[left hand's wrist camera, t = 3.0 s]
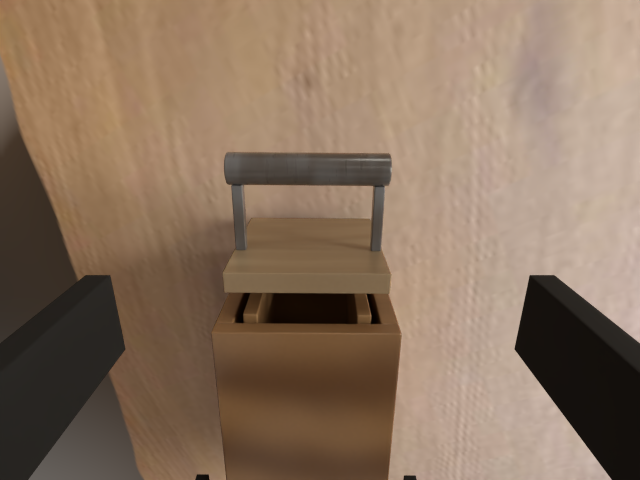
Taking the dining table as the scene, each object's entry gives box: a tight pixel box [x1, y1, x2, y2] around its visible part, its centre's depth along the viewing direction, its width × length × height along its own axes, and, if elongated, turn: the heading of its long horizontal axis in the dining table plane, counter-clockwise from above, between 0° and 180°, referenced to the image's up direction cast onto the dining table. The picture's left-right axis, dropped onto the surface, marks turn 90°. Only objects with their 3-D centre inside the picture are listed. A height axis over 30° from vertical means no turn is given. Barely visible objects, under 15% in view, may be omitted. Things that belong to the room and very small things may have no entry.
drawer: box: [222, 152, 392, 324], centre depth 27 cm, size 23×9×10 cm, turn 0°
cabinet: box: [211, 293, 402, 480], centre depth 30 cm, size 18×10×12 cm, turn 0°
